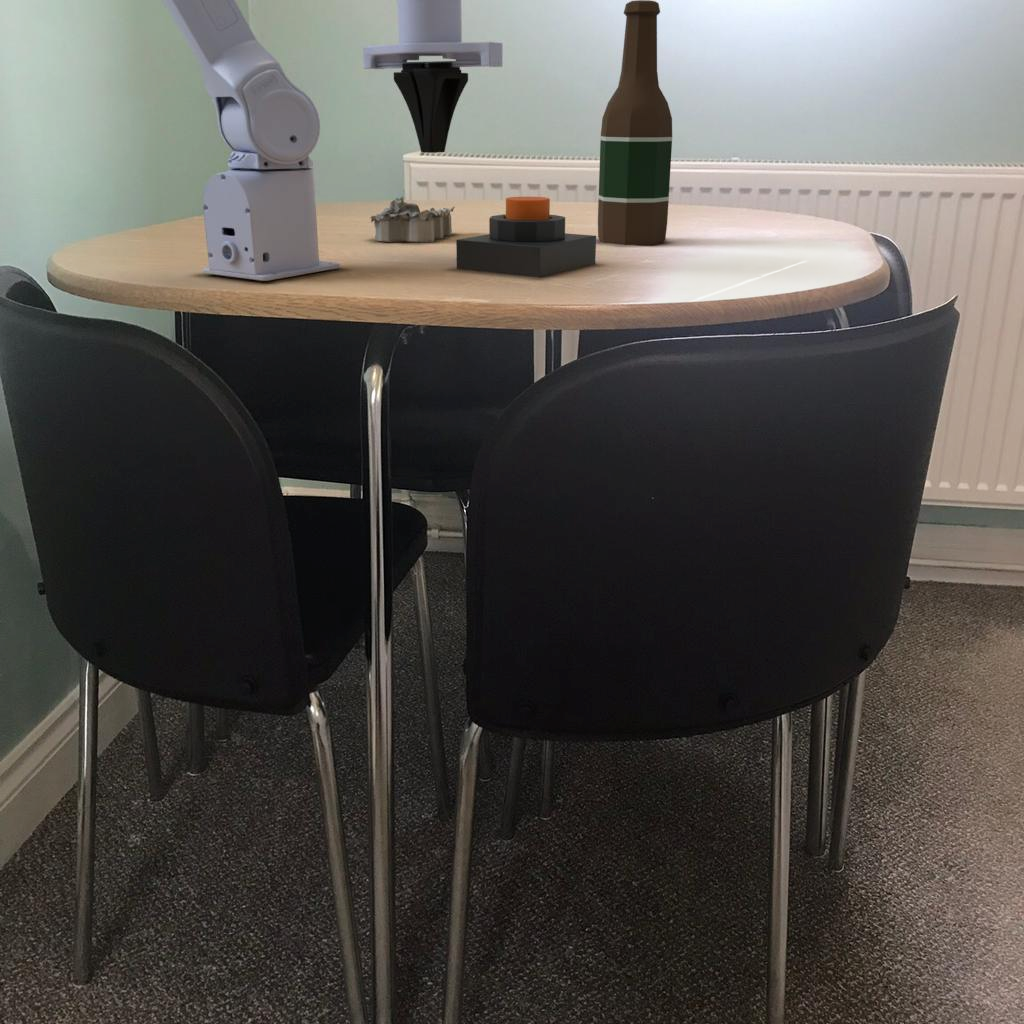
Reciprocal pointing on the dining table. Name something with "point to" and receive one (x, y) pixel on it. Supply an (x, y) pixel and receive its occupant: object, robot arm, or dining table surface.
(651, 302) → the dining table surface
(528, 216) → the switch
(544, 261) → the button base
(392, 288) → the dining table surface
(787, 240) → the dining table surface
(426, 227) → the egg carton
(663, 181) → the beer bottle
